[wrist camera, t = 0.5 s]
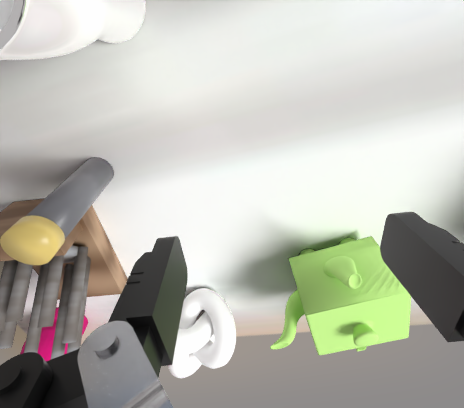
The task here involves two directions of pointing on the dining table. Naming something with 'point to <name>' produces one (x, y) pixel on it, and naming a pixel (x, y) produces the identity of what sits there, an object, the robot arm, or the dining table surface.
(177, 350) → the white knot
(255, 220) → the dining table surface
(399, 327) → the kettle
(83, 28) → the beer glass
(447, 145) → the dining table surface
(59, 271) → the knife block
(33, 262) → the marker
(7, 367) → the robot arm
